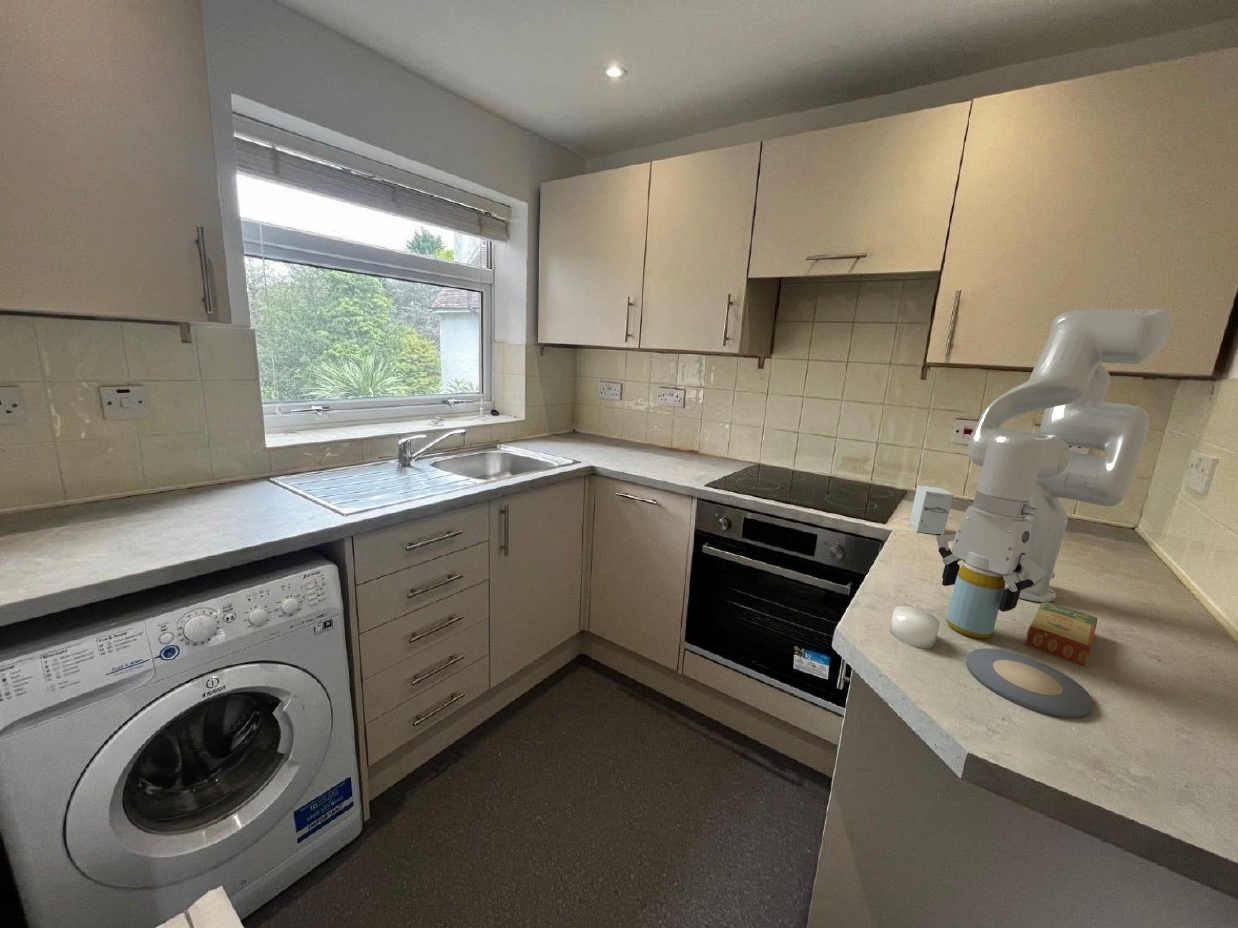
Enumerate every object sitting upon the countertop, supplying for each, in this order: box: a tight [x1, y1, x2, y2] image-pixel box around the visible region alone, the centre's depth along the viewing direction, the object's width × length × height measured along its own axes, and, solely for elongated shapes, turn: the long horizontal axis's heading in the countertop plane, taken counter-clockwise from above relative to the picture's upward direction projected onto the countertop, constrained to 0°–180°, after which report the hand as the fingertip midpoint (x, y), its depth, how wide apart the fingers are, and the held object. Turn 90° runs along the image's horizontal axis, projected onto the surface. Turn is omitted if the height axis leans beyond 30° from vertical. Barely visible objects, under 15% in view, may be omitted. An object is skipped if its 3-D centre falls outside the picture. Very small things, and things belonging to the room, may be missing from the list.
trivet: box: [966, 647, 1094, 719], centre depth 76 cm, size 15×15×1 cm
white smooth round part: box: [888, 605, 941, 649], centre depth 87 cm, size 7×7×4 cm
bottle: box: [945, 552, 1006, 640], centre depth 90 cm, size 7×7×15 cm
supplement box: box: [908, 484, 954, 536], centre depth 146 cm, size 7×7×13 cm
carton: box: [1024, 601, 1098, 668], centre depth 90 cm, size 8×16×4 cm, turn 134°
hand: (975, 596), depth 89 cm, fingers open, 9 cm apart
